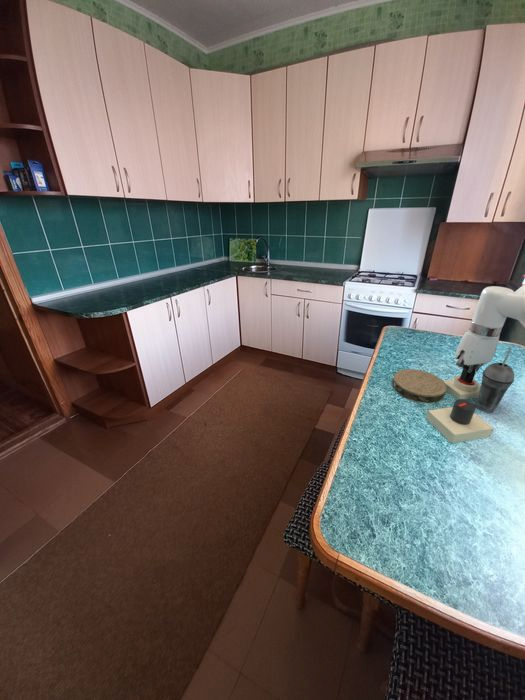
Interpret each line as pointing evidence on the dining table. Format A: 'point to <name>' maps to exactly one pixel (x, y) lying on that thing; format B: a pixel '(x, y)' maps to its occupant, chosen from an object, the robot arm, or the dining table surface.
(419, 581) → the dining table surface
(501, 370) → the beverage cup
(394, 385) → the brown cork coaster
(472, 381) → the power button
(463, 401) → the timer dial
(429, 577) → the dining table surface
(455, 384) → the block
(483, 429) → the panel
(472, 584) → the dining table surface
